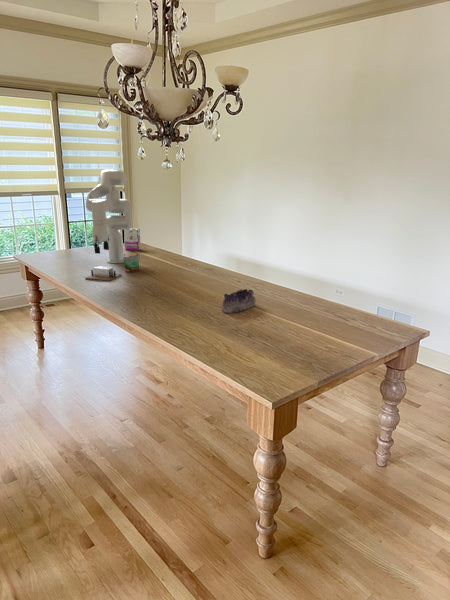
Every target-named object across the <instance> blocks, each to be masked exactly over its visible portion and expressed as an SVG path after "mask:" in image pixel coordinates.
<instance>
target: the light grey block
mask: <svg viewBox="0 0 450 600" xmlns="http://www.w3.org/2000/svg"><path fill="white" fill-rule="evenodd" d="M113 270H114V268H113V266H112V267H111V266H102V265H100V266H99V265H98V266H95V267H93V274H94V276H99V277H111V271H112V272H113V273H114V271H113Z"/></svg>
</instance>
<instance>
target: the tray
mask: <svg viewBox="0 0 450 600" xmlns="http://www.w3.org/2000/svg"><path fill="white" fill-rule="evenodd" d="M120 277H122V273H116V276H114V272H113V278H111V277H99V276H92V275H88V276H86V277H85V280H87V281H96V282H104V283H105V282H109V283H111V282H113V281H115V280H116V279H118V278H120Z"/></svg>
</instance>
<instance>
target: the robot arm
mask: <svg viewBox="0 0 450 600" xmlns="http://www.w3.org/2000/svg"><path fill="white" fill-rule="evenodd" d="M127 183H128V176H127V173H126V172H124V171H123V170H119V169H103V170H101V172H100V173H99V177H98V182H97V186H95V187H94V188H93V189H91V190H90V191H89V192H88V194H87V196H86V201H85V208H86V210H87V211H88V212H89V213H90V212H91V214H92V216H91V217H92V218H91V219H92V233H91V234H92V237H91V238H92V239H91V242H92V245H93V247H94V253H95V254H101V248H100V247H101V246H100V244H101V243H103V244H102V246H103V250H104V251H108V259H106V262H107V263H109V264H122V263H124V260H123V257H126V253H124V250H123V249H124V247H123V246H124V245H123V236H122V234H121V232H120V231H122V230H123V231H124V230H129V229H131V228H132V227H133V225H132V224H133V220H132V203H131V201H130V200H129V199H127V198H120V190H119V189H118V187H116V186H125V185H127ZM103 197H105V198H103ZM107 213H109V214H113V215H107ZM115 214H123V215H115Z"/></svg>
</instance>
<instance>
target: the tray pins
mask: <svg viewBox="0 0 450 600" xmlns="http://www.w3.org/2000/svg"><path fill="white" fill-rule="evenodd" d="M116 271H117V270H115V269H113V272H112V271H111V278H113V273H114V276H116V274H117V272H116ZM90 272H91V275H92V276H94V269H91V270H90Z"/></svg>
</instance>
